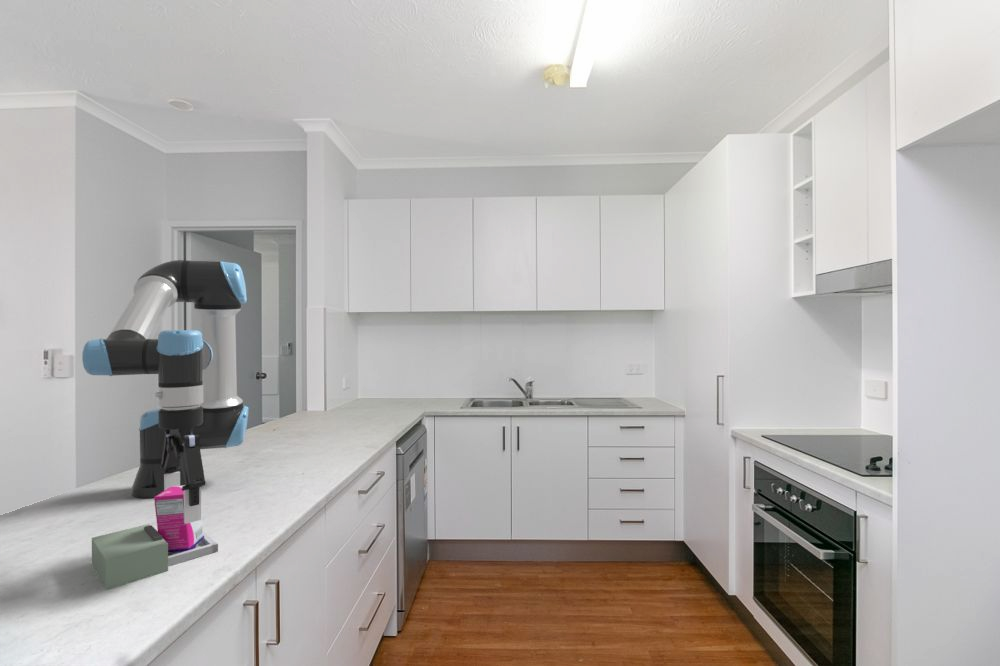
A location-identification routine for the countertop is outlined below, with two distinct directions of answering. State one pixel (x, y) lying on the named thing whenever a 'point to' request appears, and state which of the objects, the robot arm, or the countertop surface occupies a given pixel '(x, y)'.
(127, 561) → the sliding drawer box
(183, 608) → the countertop surface
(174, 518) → the supplement box
